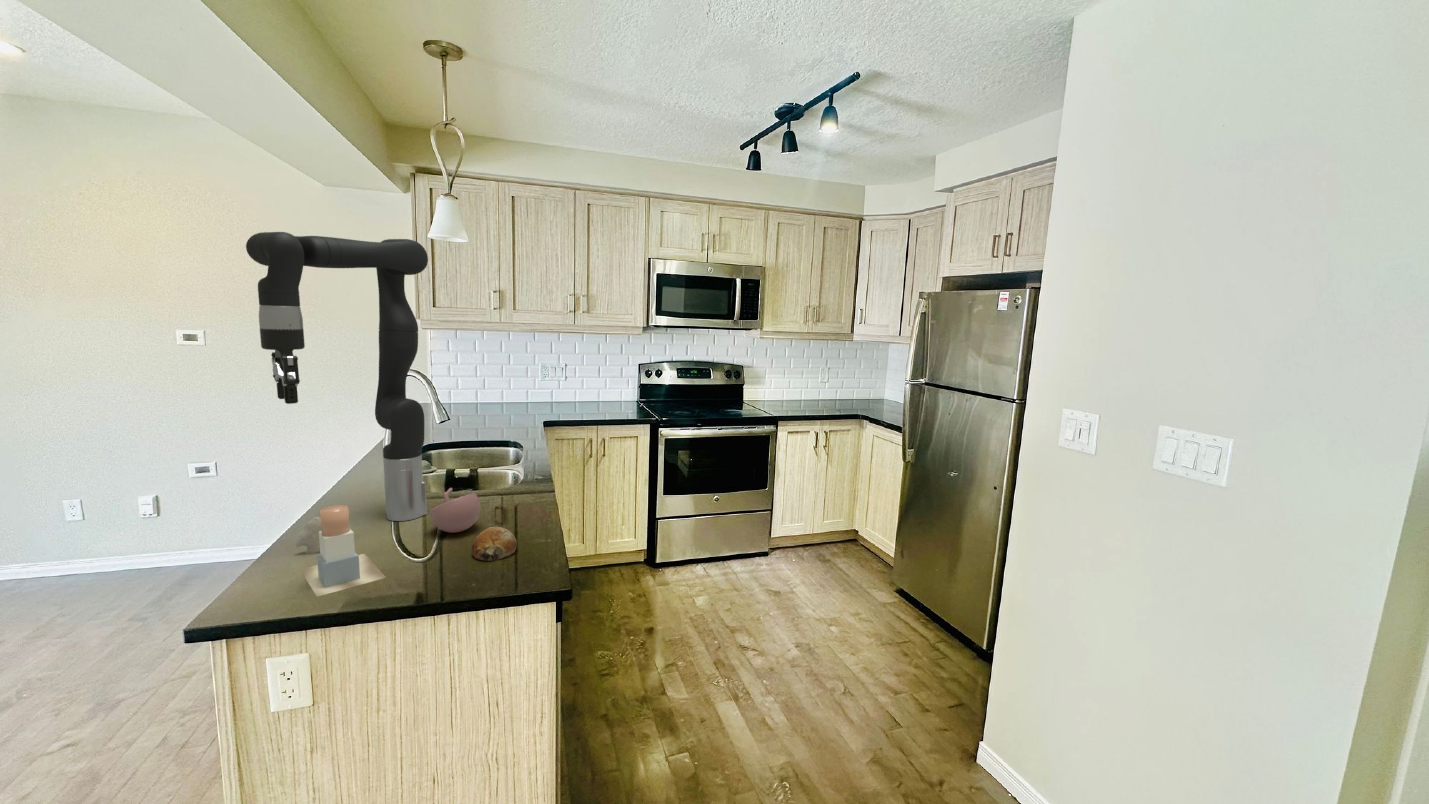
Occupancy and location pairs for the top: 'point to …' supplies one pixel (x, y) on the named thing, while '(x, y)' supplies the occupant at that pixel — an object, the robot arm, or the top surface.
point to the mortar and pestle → (456, 513)
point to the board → (366, 575)
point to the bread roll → (494, 544)
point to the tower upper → (337, 546)
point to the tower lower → (338, 570)
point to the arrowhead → (310, 536)
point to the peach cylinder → (334, 520)
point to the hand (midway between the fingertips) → (287, 400)
